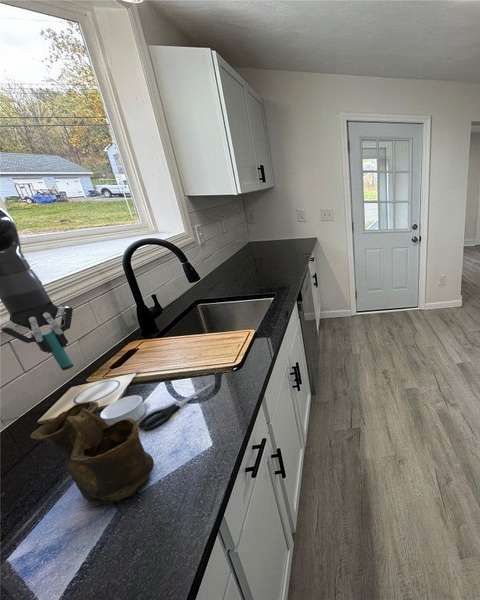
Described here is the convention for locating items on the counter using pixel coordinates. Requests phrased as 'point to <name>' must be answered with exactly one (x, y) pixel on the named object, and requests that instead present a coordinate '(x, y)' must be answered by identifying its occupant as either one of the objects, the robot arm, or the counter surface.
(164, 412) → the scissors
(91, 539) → the counter surface
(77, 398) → the board
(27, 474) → the counter surface
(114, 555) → the counter surface
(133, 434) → the pottery vessel
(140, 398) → the ramekin
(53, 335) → the marker
